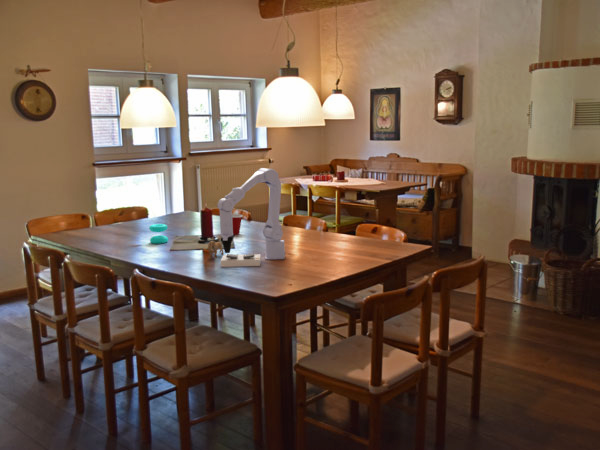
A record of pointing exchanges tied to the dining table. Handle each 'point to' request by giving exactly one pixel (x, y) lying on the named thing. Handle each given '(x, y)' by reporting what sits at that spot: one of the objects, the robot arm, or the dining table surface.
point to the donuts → (159, 238)
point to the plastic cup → (236, 223)
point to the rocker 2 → (249, 256)
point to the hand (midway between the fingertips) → (227, 252)
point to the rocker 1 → (232, 256)
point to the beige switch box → (241, 261)
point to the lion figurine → (214, 248)
